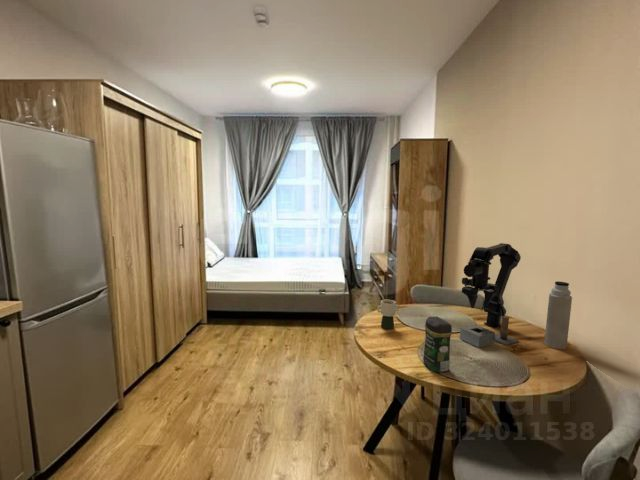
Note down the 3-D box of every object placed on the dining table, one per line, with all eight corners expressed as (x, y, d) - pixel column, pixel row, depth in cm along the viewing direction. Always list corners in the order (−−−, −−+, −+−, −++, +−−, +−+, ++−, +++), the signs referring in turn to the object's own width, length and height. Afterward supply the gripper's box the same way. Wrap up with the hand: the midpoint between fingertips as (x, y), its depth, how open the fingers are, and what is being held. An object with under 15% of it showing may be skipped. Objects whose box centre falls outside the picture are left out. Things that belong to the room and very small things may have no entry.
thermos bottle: (542, 340, 151) (548, 279, 148) (562, 343, 149) (569, 281, 145) (547, 347, 144) (553, 283, 140) (569, 350, 141) (576, 285, 138)
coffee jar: (419, 361, 130) (422, 315, 128) (438, 359, 131) (441, 314, 129) (433, 374, 120) (436, 324, 118) (452, 372, 122) (456, 323, 120)
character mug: (394, 324, 168) (395, 298, 167) (401, 329, 162) (402, 303, 160) (374, 325, 166) (375, 300, 164) (379, 331, 159) (380, 304, 158)
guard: (475, 335, 156) (476, 324, 156) (494, 343, 147) (495, 332, 147) (459, 338, 152) (460, 328, 151) (478, 347, 143) (479, 336, 142)
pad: (500, 334, 157) (500, 333, 157) (519, 342, 149) (519, 340, 149) (487, 337, 153) (487, 336, 153) (505, 345, 145) (505, 344, 145)
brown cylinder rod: (502, 337, 153) (504, 315, 152) (508, 339, 150) (510, 317, 149) (498, 338, 152) (500, 316, 150) (504, 340, 149) (506, 318, 148)
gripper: (480, 269, 169) (478, 299, 171) (453, 272, 161) (451, 304, 163) (501, 274, 159) (498, 306, 161) (473, 277, 151) (470, 311, 153)
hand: (479, 306), depth 159 cm, fingers open, 9 cm apart
